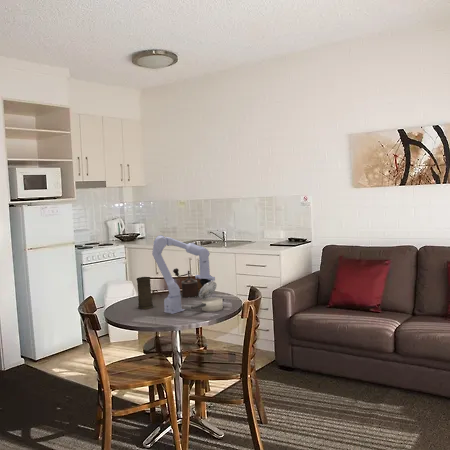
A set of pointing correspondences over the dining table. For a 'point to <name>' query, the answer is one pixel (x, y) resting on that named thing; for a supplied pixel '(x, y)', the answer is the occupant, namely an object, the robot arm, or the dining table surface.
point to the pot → (210, 304)
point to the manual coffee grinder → (188, 285)
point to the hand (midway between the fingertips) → (205, 291)
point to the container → (144, 293)
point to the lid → (207, 290)
